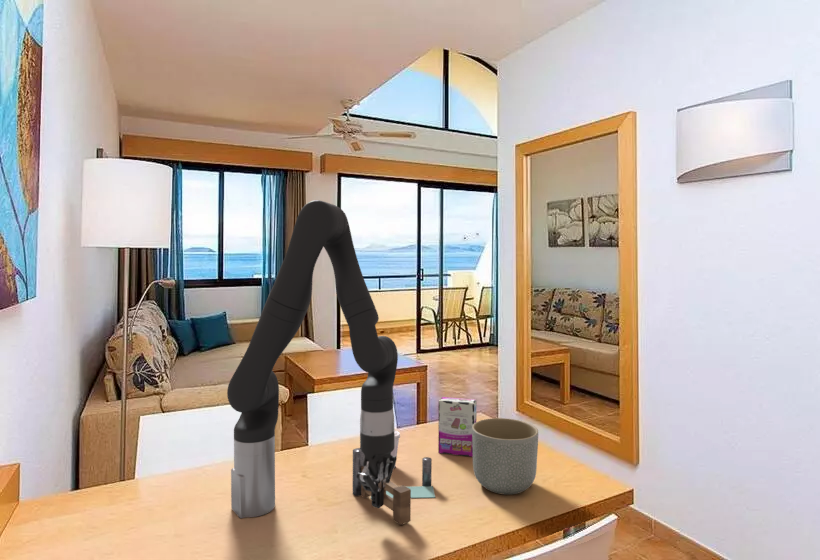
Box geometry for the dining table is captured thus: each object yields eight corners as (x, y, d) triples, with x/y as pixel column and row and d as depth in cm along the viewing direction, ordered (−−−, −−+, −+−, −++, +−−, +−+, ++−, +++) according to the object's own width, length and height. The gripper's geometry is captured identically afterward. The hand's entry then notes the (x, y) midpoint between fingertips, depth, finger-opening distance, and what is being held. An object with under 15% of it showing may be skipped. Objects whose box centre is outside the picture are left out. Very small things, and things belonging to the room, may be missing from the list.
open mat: (370, 499, 124) (370, 498, 124) (371, 487, 130) (371, 487, 130) (435, 497, 124) (435, 497, 124) (432, 486, 130) (432, 486, 130)
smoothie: (399, 471, 140) (399, 422, 139) (376, 471, 140) (376, 421, 139) (400, 462, 146) (400, 414, 145) (378, 462, 146) (378, 414, 145)
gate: (359, 496, 124) (359, 467, 123) (368, 493, 125) (368, 464, 125) (400, 525, 110) (400, 493, 110) (410, 521, 112) (410, 489, 112)
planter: (534, 506, 121) (535, 443, 120) (465, 495, 126) (465, 434, 125) (539, 477, 137) (540, 421, 136) (478, 468, 142) (479, 415, 141)
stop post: (426, 488, 130) (426, 461, 129) (420, 484, 131) (420, 458, 131) (433, 485, 131) (433, 459, 131) (427, 482, 133) (427, 456, 133)
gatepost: (356, 497, 124) (356, 453, 124) (350, 492, 127) (350, 449, 126) (366, 493, 126) (367, 450, 126) (360, 489, 129) (360, 447, 128)
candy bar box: (476, 451, 155) (477, 399, 154) (474, 457, 150) (474, 403, 149) (441, 447, 158) (441, 395, 157) (437, 453, 153) (438, 400, 152)
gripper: (374, 441, 102) (375, 524, 103) (407, 422, 114) (407, 497, 114) (345, 434, 106) (345, 515, 107) (379, 417, 117) (379, 490, 118)
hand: (377, 506), depth 110 cm, fingers closed
